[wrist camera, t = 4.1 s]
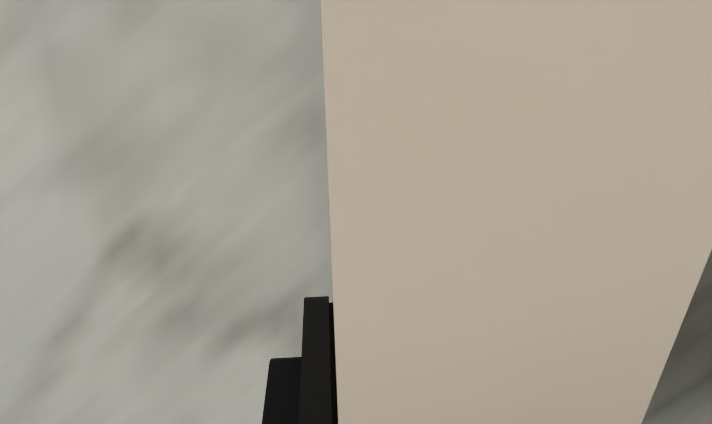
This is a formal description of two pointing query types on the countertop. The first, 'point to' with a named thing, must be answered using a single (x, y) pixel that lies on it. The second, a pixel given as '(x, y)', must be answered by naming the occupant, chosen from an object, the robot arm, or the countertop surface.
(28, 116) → the countertop surface
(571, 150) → the clay bar
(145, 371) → the countertop surface
